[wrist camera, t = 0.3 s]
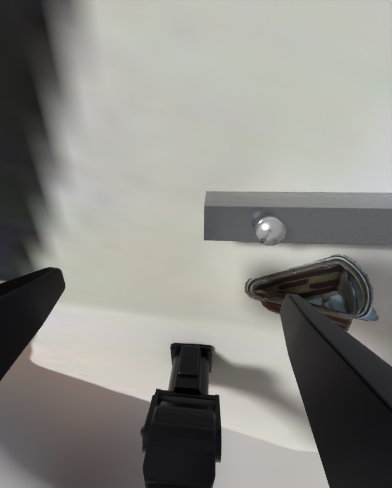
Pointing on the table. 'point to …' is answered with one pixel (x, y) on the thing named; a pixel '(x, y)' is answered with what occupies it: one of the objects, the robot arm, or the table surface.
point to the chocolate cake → (320, 289)
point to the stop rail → (299, 217)
